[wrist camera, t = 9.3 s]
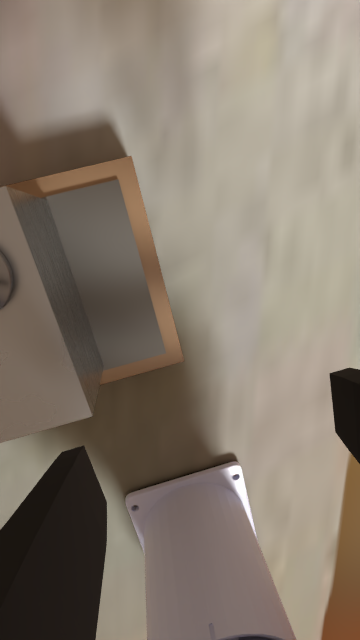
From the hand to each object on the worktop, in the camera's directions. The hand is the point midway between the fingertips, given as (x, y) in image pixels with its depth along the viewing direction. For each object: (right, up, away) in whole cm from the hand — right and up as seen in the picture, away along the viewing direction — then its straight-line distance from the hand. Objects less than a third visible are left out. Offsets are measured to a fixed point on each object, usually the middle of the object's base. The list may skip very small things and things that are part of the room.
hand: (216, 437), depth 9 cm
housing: (-8, +4, +6) cm, 10 cm away
